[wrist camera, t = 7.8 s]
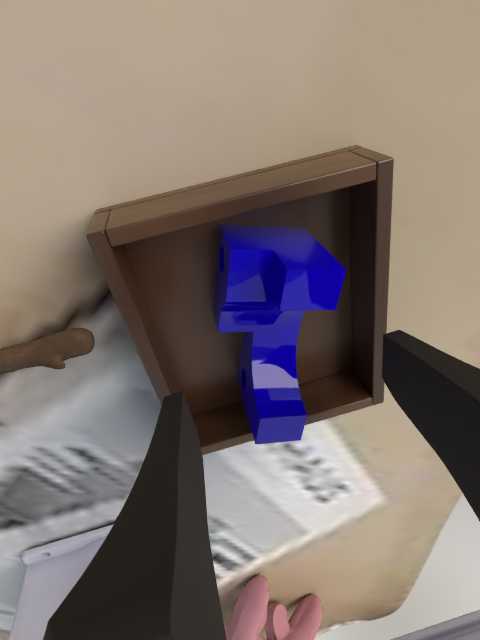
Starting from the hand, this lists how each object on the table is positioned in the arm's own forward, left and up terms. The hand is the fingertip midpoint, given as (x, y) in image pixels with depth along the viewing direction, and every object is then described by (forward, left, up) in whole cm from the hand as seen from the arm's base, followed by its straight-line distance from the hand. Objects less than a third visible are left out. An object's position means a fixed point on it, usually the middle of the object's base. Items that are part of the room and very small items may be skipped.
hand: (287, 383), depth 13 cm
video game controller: (-4, -31, -6) cm, 32 cm away
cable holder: (0, 0, -5) cm, 5 cm away
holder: (0, 0, -5) cm, 5 cm away
